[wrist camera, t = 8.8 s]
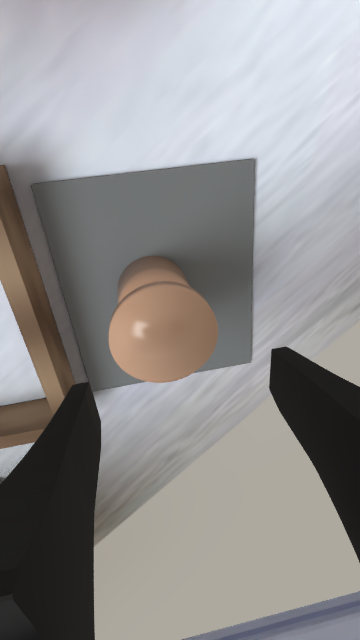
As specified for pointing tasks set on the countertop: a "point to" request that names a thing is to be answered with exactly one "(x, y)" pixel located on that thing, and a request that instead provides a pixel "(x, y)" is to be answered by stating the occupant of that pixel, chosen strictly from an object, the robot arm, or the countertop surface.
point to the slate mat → (153, 250)
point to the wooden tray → (29, 326)
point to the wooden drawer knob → (160, 322)
